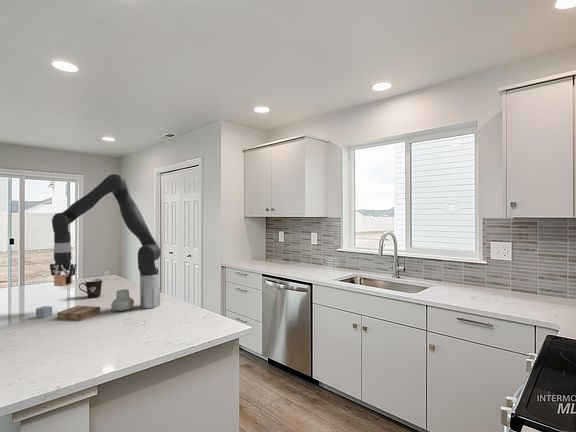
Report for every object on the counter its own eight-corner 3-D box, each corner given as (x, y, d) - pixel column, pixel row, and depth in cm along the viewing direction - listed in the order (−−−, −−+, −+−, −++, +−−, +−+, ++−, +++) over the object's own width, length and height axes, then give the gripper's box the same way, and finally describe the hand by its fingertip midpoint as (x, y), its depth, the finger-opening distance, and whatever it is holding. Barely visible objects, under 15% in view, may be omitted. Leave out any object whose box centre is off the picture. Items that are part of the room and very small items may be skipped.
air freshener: (125, 312, 165) (125, 293, 165) (109, 312, 165) (109, 293, 165) (135, 306, 176) (135, 288, 176) (120, 306, 176) (120, 288, 176)
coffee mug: (105, 295, 201) (105, 279, 200) (95, 298, 192) (95, 281, 192) (87, 294, 202) (87, 278, 202) (77, 298, 193) (77, 281, 193)
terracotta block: (72, 284, 172) (72, 274, 172) (63, 286, 167) (63, 276, 167) (63, 283, 173) (63, 274, 173) (54, 286, 168) (54, 276, 168)
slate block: (52, 315, 161) (52, 306, 161) (43, 318, 157) (43, 309, 157) (44, 315, 162) (44, 306, 162) (36, 318, 158) (35, 308, 158)
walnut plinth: (100, 312, 165) (100, 306, 165) (81, 320, 153) (81, 314, 153) (77, 311, 168) (77, 305, 167) (57, 318, 156) (57, 312, 156)
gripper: (80, 250, 172) (81, 282, 172) (57, 250, 175) (57, 282, 175) (68, 252, 165) (69, 285, 165) (44, 252, 167) (44, 285, 167)
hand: (63, 283), depth 170 cm, fingers closed on terracotta block, 5 cm apart
